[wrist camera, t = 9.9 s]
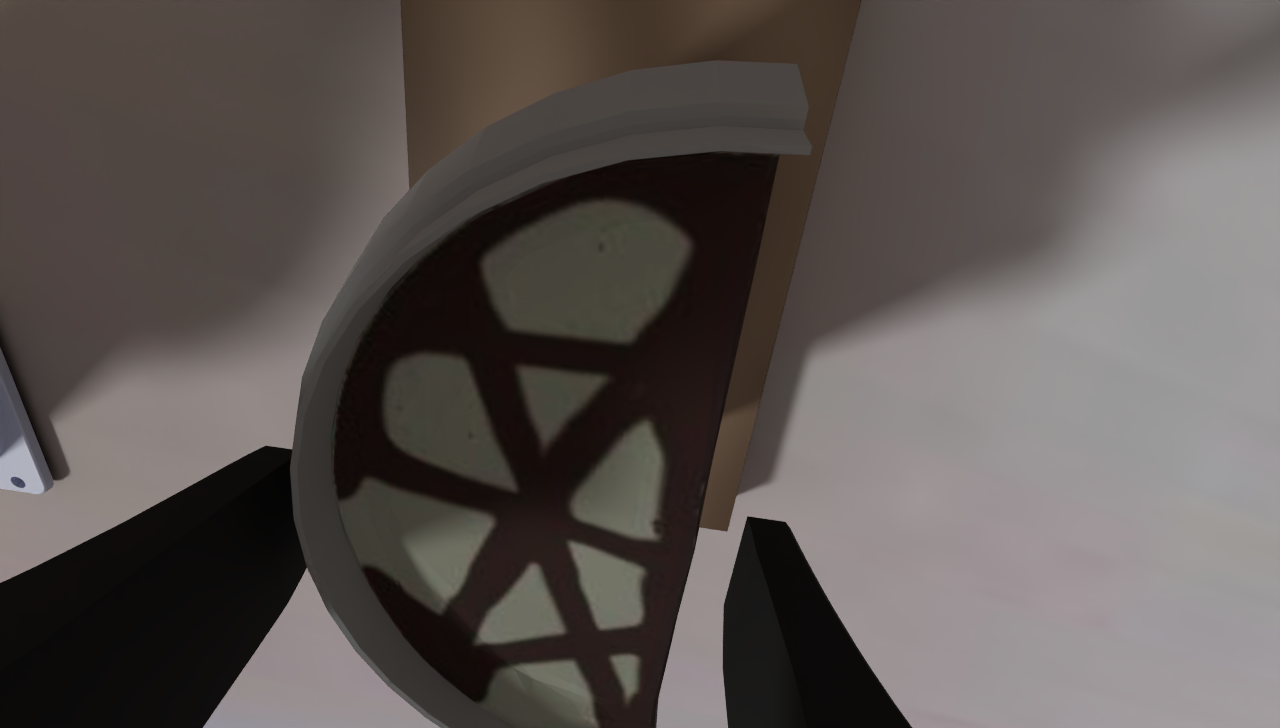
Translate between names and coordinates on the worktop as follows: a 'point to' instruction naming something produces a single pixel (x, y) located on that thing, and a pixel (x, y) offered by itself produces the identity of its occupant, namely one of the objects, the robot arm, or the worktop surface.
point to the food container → (541, 395)
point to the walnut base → (613, 44)
